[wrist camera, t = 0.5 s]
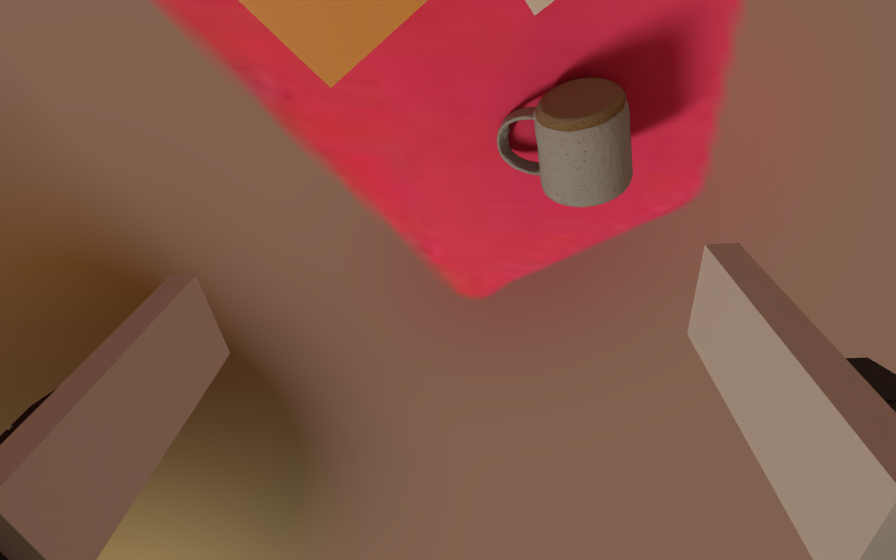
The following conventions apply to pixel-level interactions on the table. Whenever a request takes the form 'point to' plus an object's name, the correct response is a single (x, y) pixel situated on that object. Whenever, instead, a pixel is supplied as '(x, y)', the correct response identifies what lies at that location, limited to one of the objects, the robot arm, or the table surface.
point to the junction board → (538, 5)
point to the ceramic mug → (577, 142)
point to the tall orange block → (332, 29)
